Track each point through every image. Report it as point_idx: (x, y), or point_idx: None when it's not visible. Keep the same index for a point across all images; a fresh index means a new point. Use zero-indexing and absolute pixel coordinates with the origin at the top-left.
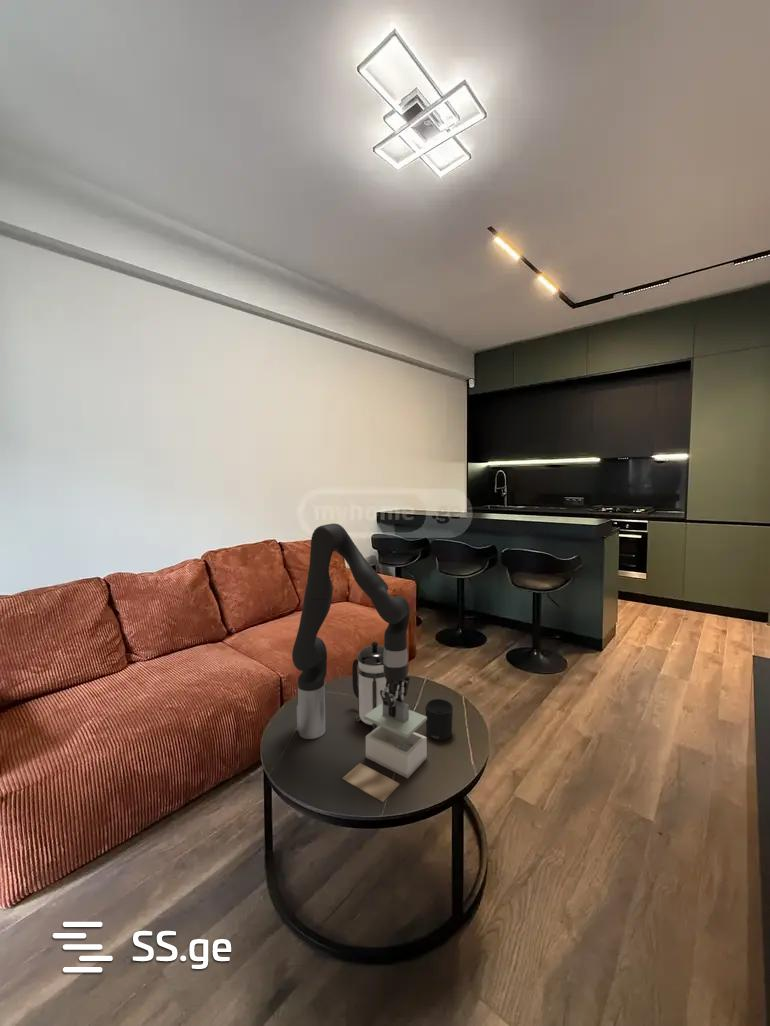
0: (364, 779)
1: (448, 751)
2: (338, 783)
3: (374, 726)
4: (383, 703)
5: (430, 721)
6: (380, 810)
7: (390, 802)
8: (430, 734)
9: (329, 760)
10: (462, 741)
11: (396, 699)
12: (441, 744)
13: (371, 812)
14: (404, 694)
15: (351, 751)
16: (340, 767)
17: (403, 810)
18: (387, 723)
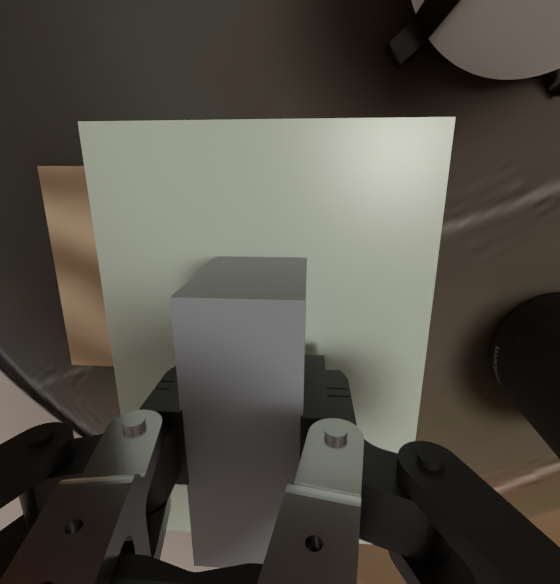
0: (95, 249)
1: (444, 428)
2: (15, 168)
3: (405, 40)
4: (4, 442)
5: (538, 382)
6: (47, 372)
7: (92, 380)
8: (501, 344)
9: (72, 12)
10: (538, 449)
11: (308, 429)
12: (475, 389)
13: (21, 354)
14: (391, 554)
15: (191, 61)
16: (79, 102)
17: (97, 427)
18: (141, 365)
